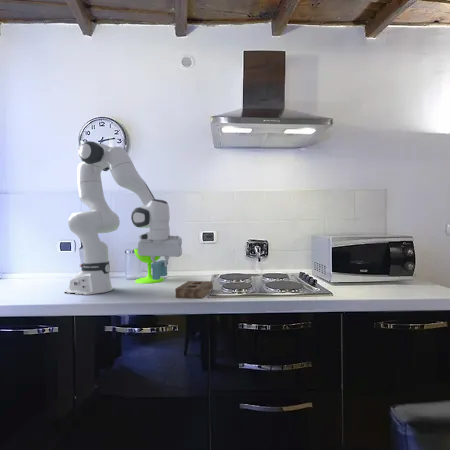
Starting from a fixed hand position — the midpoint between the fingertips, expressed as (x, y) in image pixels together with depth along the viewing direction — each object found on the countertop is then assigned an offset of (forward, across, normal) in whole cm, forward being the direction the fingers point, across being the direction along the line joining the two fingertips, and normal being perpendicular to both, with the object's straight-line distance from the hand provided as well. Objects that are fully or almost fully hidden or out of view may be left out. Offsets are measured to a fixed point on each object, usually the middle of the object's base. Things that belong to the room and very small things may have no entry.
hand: (159, 266), depth 160 cm
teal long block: (+5, 0, 0) cm, 5 cm away
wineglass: (+14, +20, -34) cm, 42 cm away
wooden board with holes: (+13, -15, -5) cm, 20 cm away
